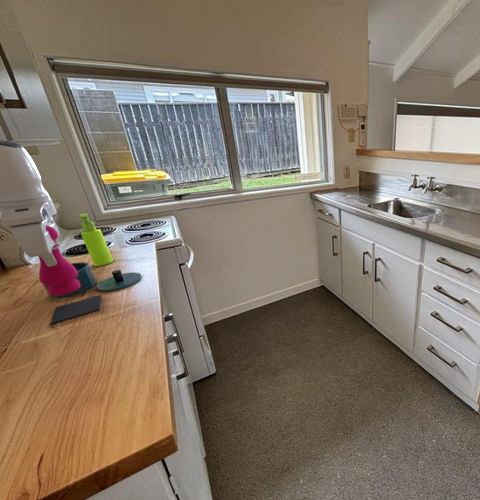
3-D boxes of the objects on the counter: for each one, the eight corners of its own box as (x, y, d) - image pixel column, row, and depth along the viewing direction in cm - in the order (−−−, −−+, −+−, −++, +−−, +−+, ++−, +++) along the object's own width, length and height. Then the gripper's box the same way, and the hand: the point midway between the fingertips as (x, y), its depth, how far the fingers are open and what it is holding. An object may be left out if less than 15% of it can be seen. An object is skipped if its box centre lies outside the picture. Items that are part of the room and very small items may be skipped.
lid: (97, 297, 87) (91, 284, 85) (98, 283, 96) (93, 270, 94) (143, 284, 94) (139, 271, 92) (141, 272, 102) (136, 260, 101)
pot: (47, 304, 84) (36, 282, 81) (53, 289, 93) (43, 269, 90) (96, 291, 91) (87, 270, 88) (98, 278, 99) (89, 259, 96)
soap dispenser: (94, 268, 107) (72, 217, 100) (94, 262, 112) (73, 214, 105) (113, 263, 111) (93, 214, 103) (112, 258, 116) (93, 211, 108)
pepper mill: (56, 286, 79) (24, 217, 72) (87, 281, 82) (60, 214, 74) (41, 299, 73) (4, 225, 66) (75, 293, 75) (44, 221, 68)
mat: (51, 326, 74) (50, 323, 73) (57, 310, 81) (55, 307, 81) (100, 311, 79) (99, 308, 79) (101, 297, 87) (100, 294, 86)
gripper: (21, 205, 75) (44, 253, 80) (-2, 221, 60) (29, 278, 65) (53, 201, 78) (74, 247, 84) (40, 215, 63) (66, 270, 69)
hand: (54, 261), depth 74 cm, fingers closed on pepper mill, 5 cm apart
